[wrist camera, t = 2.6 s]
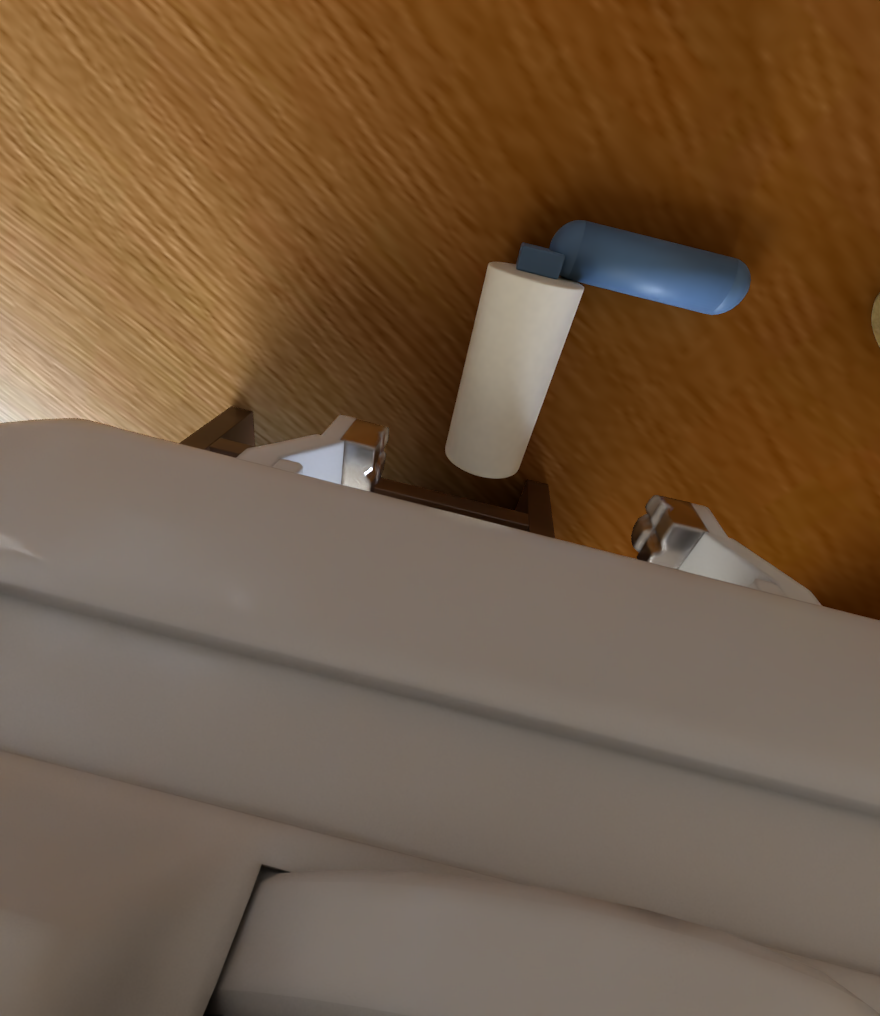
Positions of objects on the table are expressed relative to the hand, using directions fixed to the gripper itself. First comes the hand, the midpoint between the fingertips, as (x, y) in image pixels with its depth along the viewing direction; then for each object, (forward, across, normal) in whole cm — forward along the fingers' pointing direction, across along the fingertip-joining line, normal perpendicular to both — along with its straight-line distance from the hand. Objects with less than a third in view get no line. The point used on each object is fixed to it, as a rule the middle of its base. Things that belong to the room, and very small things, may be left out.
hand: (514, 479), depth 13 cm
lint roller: (+14, -3, -1) cm, 14 cm away
